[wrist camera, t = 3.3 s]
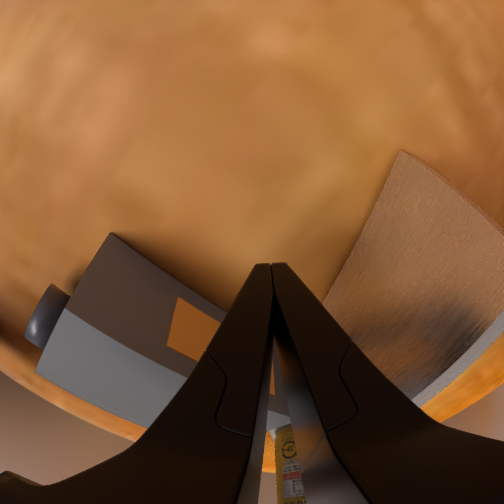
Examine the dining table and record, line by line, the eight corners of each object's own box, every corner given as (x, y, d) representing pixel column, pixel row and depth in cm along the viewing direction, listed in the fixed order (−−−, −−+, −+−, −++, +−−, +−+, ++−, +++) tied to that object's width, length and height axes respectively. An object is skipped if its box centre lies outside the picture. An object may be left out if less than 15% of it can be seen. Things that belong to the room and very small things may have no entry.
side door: (399, 149, 9) (532, 269, 4) (430, 165, 9) (551, 280, 4) (300, 339, 15) (315, 460, 10) (326, 342, 16) (347, 457, 10)
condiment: (274, 440, 28) (278, 531, 18) (261, 417, 23) (265, 537, 14) (336, 431, 27) (348, 522, 18) (341, 406, 22) (358, 525, 13)
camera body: (47, 302, 14) (0, 399, 8) (101, 196, 10) (-1, 335, 5) (214, 394, 20) (210, 482, 14) (314, 345, 16) (332, 461, 10)
